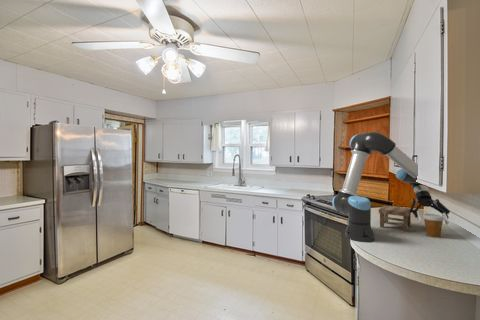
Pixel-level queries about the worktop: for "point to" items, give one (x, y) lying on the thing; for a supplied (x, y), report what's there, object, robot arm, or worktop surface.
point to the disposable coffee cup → (433, 225)
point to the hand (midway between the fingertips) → (433, 222)
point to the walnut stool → (395, 211)
